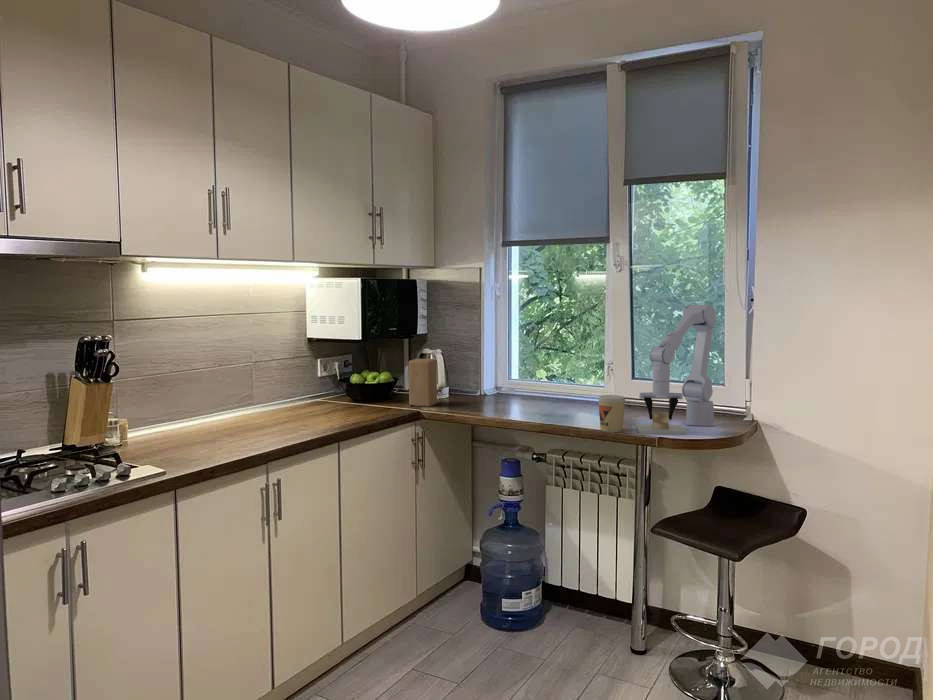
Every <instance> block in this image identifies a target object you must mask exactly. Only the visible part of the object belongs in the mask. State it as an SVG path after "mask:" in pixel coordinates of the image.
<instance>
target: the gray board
mask: <svg viewBox="0 0 933 700" xmlns="http://www.w3.org/2000/svg"><path fill="white" fill-rule="evenodd" d="M634 427H636V428H635V429H636V431H637V432H639V433H638V434H639V435H676V434H688V431H687V429H686V428H684V427H683V426H682V425H681V424H669V429H654V428H653V426H652V423H649V424H648V423H635V425H634Z"/></svg>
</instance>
